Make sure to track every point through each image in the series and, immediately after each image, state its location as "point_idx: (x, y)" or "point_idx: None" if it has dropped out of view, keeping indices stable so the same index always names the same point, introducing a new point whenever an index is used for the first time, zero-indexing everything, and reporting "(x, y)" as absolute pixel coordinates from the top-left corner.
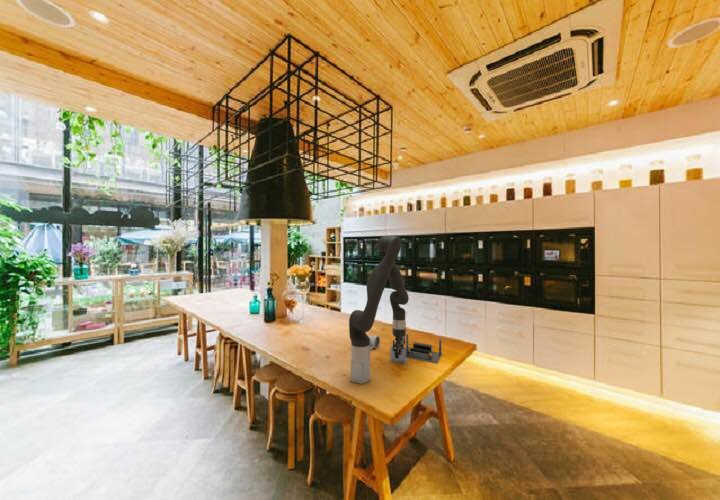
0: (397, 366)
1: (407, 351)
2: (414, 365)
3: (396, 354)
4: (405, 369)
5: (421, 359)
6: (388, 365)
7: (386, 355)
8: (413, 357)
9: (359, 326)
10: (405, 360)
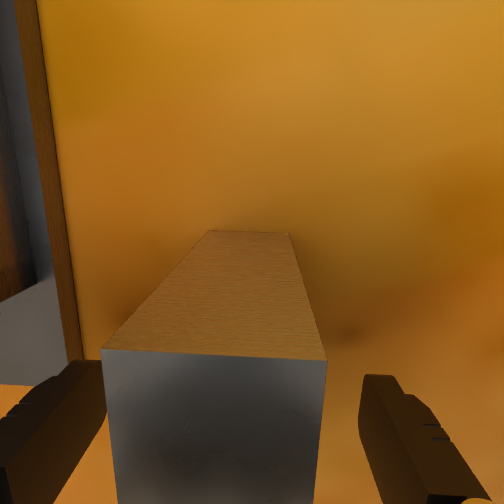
0: (414, 311)
1: None
2: (284, 87)
3: (456, 468)
4: (478, 183)
5: (24, 14)
6: None
7: None
8: (42, 170)
9: None
10: (291, 247)
